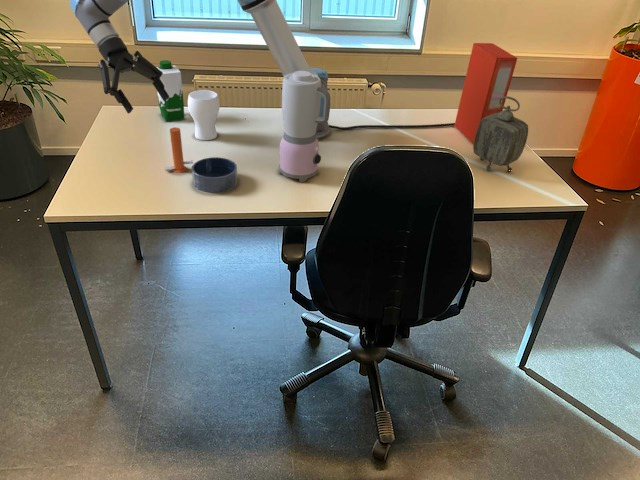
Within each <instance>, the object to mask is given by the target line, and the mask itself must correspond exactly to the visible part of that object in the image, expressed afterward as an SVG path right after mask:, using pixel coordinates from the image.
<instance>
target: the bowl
mask: <svg viewBox="0 0 640 480" xmlns="http://www.w3.org/2000/svg"><path fill="white" fill-rule="evenodd" d="M191 176H192V185H193V187H194V188H195V189H197V190H198V191H201V192H204V193H207V194H220V193H224V192H225V193H226V192H228V191H231V190H232V189H234V188H235V187H236V186H237V184H238V183H239V182H238V165H237V163H236V162H235V161H233V160H231V159H229V158H226V157H219V156H218V157H215V156H213V157H212V156H211V157H204V158H201V159H199V160H197V161H195V162H193V163H192V165H191Z"/></svg>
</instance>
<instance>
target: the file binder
mask: <svg viewBox="0 0 640 480" xmlns="http://www.w3.org/2000/svg"><path fill="white" fill-rule="evenodd" d="M517 62H518V57H517V56H515V55H513V54H512V53H510V52H508V51H506V50H505V49H503V48H502V47H500V46H498V45H496V44H495V43H493V42H492V43H491V42H474V43H473V44H472V48H471V52H470V57H469V61H468V65H467V69H466V75H465V79H464V81H463V82H464V83H463V87H462V90H461V95H460V99H459V104H458V107H457V113H456V116H455V120H454V121H455V122H454V123H455V125H454V126H453V127H455V128H456V129H457V130H458V131H459V132H460V133H461V134H462V135H463V136H464V137H465V138H466V139H467V140H468V141H469V142H470V143H471V144H472V145H474V140H475V135H476V132H477V129H478V126H479V123H480V121H481V120H482V119H483V118H485V117H487V116H489V115H491V114H494V113H500V112H501V111H503V110H504V109H503V108H502V107H501V106H500V103H499V101H500V99H501V98H502V97H506V96H508V93H509V89H510V86H511V83H512V78H513V75H514V71H515V68H516V65H517ZM506 100H507V98H505V99H502V100H501V104H502V105H503V106H504V107H505V103H506Z"/></svg>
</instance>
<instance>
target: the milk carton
mask: <svg viewBox="0 0 640 480" xmlns="http://www.w3.org/2000/svg"><path fill="white" fill-rule="evenodd" d="M155 67H156V68H158V69H159V70H160V71H161V72H162V73H163V74H162V76H161V77H160V80H161V81H162V83H163V84H164V86H165V88H164V89H165V90H166V92H167V93H168V95H169V98H168V99H167V100H166V101H163V99H162V97H161V96H160V94H159V93H158V91H157V90H156V92H157V101H158V107H159V111H160V115H161V116H162V118H163V120H164V121H165V122H172V121H180V120H181V121H182V120H185V103H184V102H185V101H184V92H183V91H184V90H183V81H182V72H181V71H180V69H179V68H178V67H177V66H176V65H172V60H160V61H159V66H155Z"/></svg>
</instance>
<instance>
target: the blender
mask: <svg viewBox="0 0 640 480" xmlns="http://www.w3.org/2000/svg"><path fill="white" fill-rule="evenodd" d="M281 89H282V91H281V114H282V123H283V128H284V130H283V131H284V133H283V135H282V138H281V139H280V142H279V167H278V169H279V170H278V171H279V174H280V175H281V174H282V175H283V176H285V177H288V178H291V179H295V180H299V183H306V182H307V179H309V178H312V177H313V176H316V175H318V170H319V169H318V168H319V164H320V163H321V160H322V156H321V155H320V154H319V153H320V144H319V139H317V138H316V134H315V133H316V127H317V123H326V122H327V121H328V122H329V119H330V112H331V94H330V92H329V91H327V90H328V89H327V90H325V89H323V88H321V80H320V78H319V77H318V76H316V75H314V74H311V73H310V72H307V71H296V72H294V73H290V74H284V77H283V78H282V88H281ZM321 95H323V96H324V98H325V100H324V114H323V117H319V113H320V101H321Z"/></svg>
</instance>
